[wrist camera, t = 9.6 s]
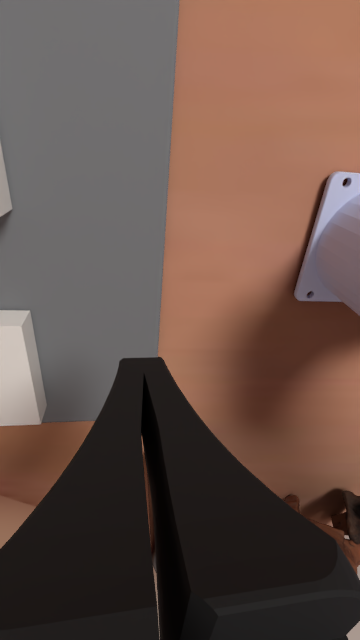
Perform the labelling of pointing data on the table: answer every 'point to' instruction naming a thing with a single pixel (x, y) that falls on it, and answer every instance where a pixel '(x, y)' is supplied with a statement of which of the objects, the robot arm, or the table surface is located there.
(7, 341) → the tile
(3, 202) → the tile
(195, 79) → the table surface
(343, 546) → the brown curved piece
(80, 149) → the mat
